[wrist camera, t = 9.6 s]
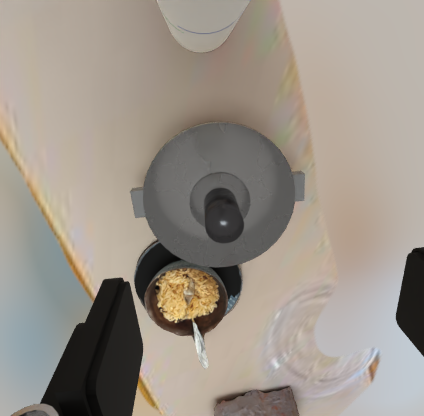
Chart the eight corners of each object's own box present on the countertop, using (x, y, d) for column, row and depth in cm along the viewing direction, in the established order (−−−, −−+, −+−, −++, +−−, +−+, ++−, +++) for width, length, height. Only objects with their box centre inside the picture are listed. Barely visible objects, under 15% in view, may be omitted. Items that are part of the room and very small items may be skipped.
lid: (132, 129, 30) (113, 141, 23) (292, 114, 30) (319, 121, 23) (156, 268, 35) (147, 310, 28) (291, 254, 35) (314, 293, 29)
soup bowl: (251, 239, 43) (261, 268, 36) (228, 331, 48) (233, 372, 41) (140, 223, 41) (129, 250, 34) (130, 320, 47) (118, 361, 40)
